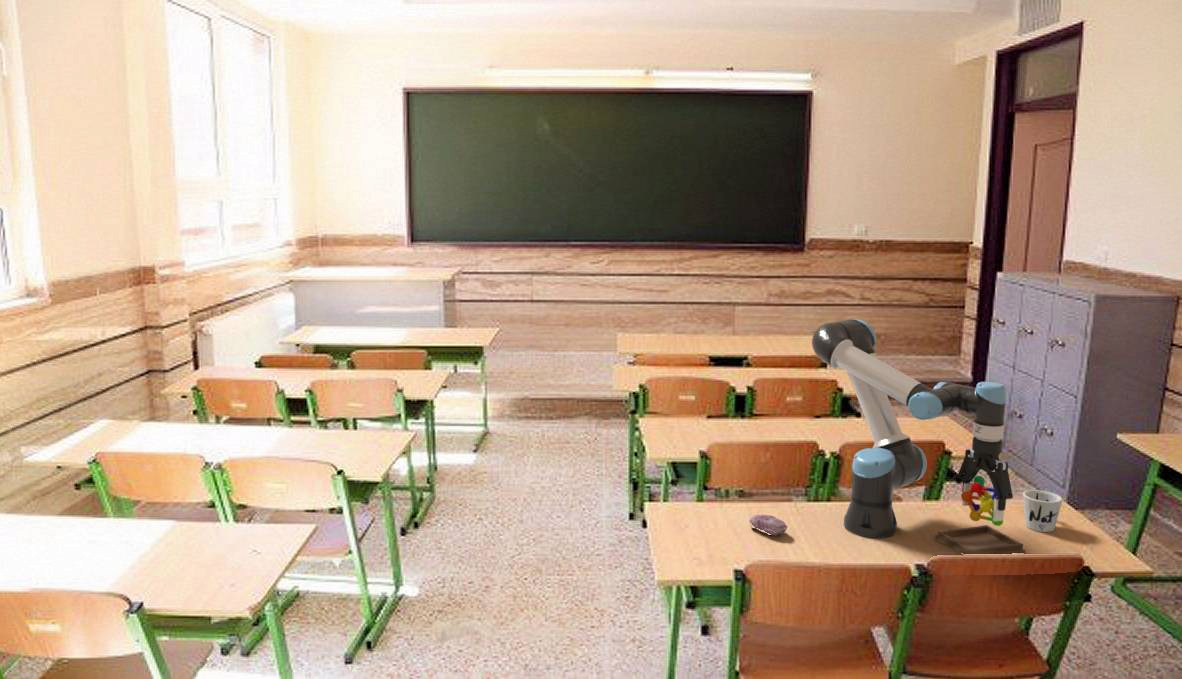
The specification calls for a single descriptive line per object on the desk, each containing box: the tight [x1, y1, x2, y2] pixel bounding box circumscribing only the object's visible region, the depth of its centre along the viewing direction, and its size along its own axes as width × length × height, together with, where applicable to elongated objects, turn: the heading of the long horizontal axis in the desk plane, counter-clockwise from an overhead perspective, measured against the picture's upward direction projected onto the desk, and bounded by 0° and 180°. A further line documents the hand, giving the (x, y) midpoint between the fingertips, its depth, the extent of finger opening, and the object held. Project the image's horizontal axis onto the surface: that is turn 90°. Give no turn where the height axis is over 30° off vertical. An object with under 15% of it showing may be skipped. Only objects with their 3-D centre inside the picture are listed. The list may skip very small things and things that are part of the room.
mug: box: [1022, 489, 1063, 533], centre depth 249 cm, size 10×15×10 cm
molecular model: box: [960, 475, 1004, 527], centre depth 233 cm, size 11×7×12 cm, turn 9°
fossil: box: [749, 514, 788, 536], centre depth 246 cm, size 8×14×5 cm, turn 29°
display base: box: [934, 524, 1026, 554], centre depth 235 cm, size 16×17×2 cm
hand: (982, 512), depth 233 cm, fingers closed on molecular model, 11 cm apart
